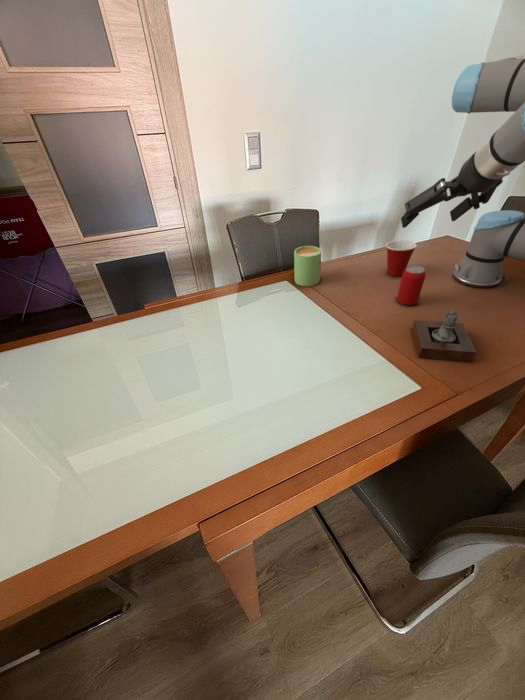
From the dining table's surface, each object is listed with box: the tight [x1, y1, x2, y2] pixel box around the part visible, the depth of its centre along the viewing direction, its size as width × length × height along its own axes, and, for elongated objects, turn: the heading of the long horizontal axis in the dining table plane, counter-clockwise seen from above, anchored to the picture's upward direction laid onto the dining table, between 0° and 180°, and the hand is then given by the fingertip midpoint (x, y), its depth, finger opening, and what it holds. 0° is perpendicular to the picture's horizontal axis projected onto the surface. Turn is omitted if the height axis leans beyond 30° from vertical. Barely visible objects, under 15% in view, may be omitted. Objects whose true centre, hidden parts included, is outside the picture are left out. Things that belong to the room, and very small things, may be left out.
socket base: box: [411, 319, 477, 363], centre depth 85 cm, size 13×13×4 cm
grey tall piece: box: [431, 309, 459, 344], centre depth 82 cm, size 6×6×12 cm
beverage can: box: [396, 264, 426, 306], centre depth 100 cm, size 7×7×12 cm
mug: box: [293, 245, 323, 287], centre depth 118 cm, size 13×10×12 cm
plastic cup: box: [385, 239, 418, 278], centre depth 116 cm, size 11×11×12 cm
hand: (427, 219), depth 80 cm, fingers open, 13 cm apart
